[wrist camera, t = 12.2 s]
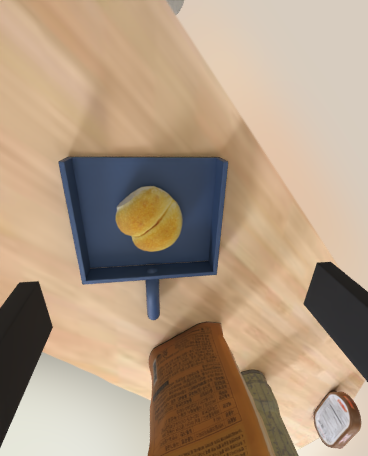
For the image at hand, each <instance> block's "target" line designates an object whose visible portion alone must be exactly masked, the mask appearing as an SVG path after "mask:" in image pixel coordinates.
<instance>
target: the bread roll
mask: <svg viewBox="0 0 368 456" xmlns="http://www.w3.org/2000/svg"><path fill="white" fill-rule="evenodd" d="M116 223H117V226H118V228H119V229H120V230H121V232H123V233H124V234H126V235H129V236H131V237H132V240H133V242H134V244H135V246H137V247H138V248H139V249H141V250H144V251H150V252H154V251H160V250H163V249H166V248H168V247H169V246H171V245H172V244H173V243H174V242H175V241H176V240H177V238H178V237H179V235H180V232H181V229H182V213H181V210H180V207H179V205H178V204H177V202H176V201H175V200H174V199H173V198H172V197H171V196H170V195H169V194H168V193H167V192H165V191H164V190H162V189H160V188H157V187H155V186H146V187H141V188H139V189H137V190H136V191H134V192H132V193H131V194H130V195H129V196H127V197H126V198H125V199H124V200H123V201H122V202H120V203H119V205H118V206H117V212H116Z"/></svg>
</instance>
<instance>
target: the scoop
mask: <svg viewBox="0 0 368 456" xmlns="http://www.w3.org/2000/svg"><path fill="white" fill-rule="evenodd" d="M59 167H60V173H61V178H62V183H63V188H64V193H65V198H66V203H67V208H68V213H69V218H70V223H71V229H72V234H73V239H74V244H75V249H76V254H77V259H78V264H79V269H80V274H81V280H82V284H96V283H110V282H124V281H137V280H146V296H147V314H148V317H149V319H151V320H156V319H157V318H158V317H159V315H160V303H159V279H165V278H179V277H192V276H206V275H217V267H218V257H219V247H220V237H221V228H222V218H223V208H224V198H225V188H226V179H227V169H228V161H226V160H224V159H222V158H220V157H67V158H65V159H63V160H61V161H59ZM146 186H155V187H157V188H160V189H162V190H164V191H165V192H167V193H168V194H169V195H170V196H171V197H172V198H173V199H174V200H175V201H176V202H177V204H178V205H179V207H180V210H181V213H182V229H181V232H180V235H179V237H178V238H177V240H176V241H175V242H174V243H173V244H172V245H171V246H169V247H168V248H166V249H163V250H160V251H154V252H150V251H144V250H141V249H139V248H138V247H137V246H135V244H134V242H133V240H132V237H131V236H129V235H126V234H124V233H123V232H121V230H120V229H119V228H118V226H117V223H116V212H117V206H118V205H119V203H120V202H122V201H123V200H124V199H125V198H126V197H127V196H129V195H130V194H131V193H132V192H134V191H136V190H137V189H139V188H141V187H146ZM196 261H201V262H196ZM180 262H185V263H180ZM164 263H170V264H164ZM148 264H154V265H148ZM133 265H138V266H133ZM117 266H122V267H117ZM101 267H107V268H101ZM90 268H91V269H90Z"/></svg>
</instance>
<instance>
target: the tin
mask: <svg viewBox="0 0 368 456" xmlns="http://www.w3.org/2000/svg"><path fill="white" fill-rule="evenodd" d="M314 424H315V428H316V430H317V432H318V435H319V437H320V438H321V440H322V442H323V443H324V444H325V445H326V446H328V447H331V448H339V449H341V448H343V447H344V446H345V445H346V444H347V443H348V442H349V441H350V440H351V439H352V438H353V437H354V436H355V435H356V434H357V433H358V432H359V430H360V428H361V416H360V413H359V410H358V408H357V406H356V404H355V403H354V401H353V400H352V398H351V397H350V396H349V395H347V394H346V393H344V392H330V393H329V394H328V395H327V396H326V397H325V399H324V400H323V401H322V402H321V404H320V405H319V406H318V408H317V409H316V410H315V412H314Z"/></svg>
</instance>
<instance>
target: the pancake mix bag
mask: <svg viewBox="0 0 368 456" xmlns="http://www.w3.org/2000/svg"><path fill="white" fill-rule="evenodd" d="M149 368H150V372H151V376H152V398H151V405H150V445H149V451H148V456H276V455H275V453H274V450H273V447H272V444H271V441H270V438H269V436H268V433H267V430H266V427H265V425H264V422H263V419H262V417H261V416H260V414H259V412H258V410H257V408H256V405H255V403H254V400H253V397H252V395H251V393H250V391H249V389H248V387H247V385H246V383H245V381H244V378H243V376H242V374H241V373H240V371H239V368H238V366H237V364H236V361H235V359H234V356H233V354H232V352H231V350H230V349H229V347H228V345H227V343H226V341H225V339H224V337H223V332H222V326H221V323H211V322H204V323H200V324H197V325H195V326H193V327H192V328H190V329H188V330H186V331H185V332H183V333H181V334H179V335H178V336H176V337H174V338H172V339H171V340H169V341H167V342H165V343H163V344H161V345H159V346H157V347H156V348H154V349H153V350H152V352H151V354H150V358H149Z"/></svg>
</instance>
